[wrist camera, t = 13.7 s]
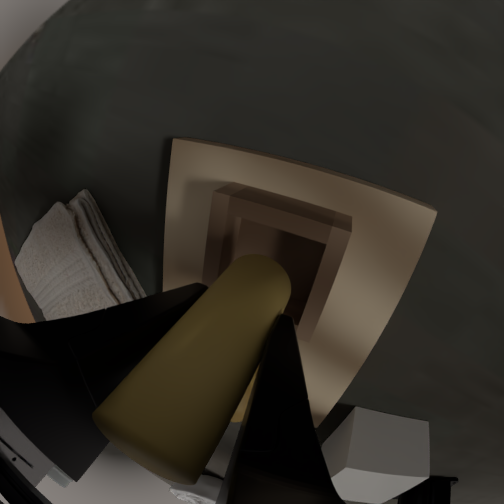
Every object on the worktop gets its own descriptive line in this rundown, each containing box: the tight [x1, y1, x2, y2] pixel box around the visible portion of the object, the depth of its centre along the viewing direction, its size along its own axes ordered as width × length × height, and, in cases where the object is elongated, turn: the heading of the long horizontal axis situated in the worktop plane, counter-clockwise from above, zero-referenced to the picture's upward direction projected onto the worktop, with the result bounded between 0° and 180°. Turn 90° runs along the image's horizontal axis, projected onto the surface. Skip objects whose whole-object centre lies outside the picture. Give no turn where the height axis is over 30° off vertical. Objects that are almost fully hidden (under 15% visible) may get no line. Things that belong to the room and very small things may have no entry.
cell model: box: [169, 475, 223, 504], centre depth 29 cm, size 10×12×7 cm
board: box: [163, 137, 437, 428], centre depth 14 cm, size 16×12×5 cm
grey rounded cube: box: [321, 406, 430, 504], centre depth 15 cm, size 6×6×5 cm
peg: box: [92, 254, 291, 485], centre depth 7 cm, size 2×2×7 cm
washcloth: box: [15, 189, 147, 321], centre depth 21 cm, size 12×18×3 cm, turn 120°
